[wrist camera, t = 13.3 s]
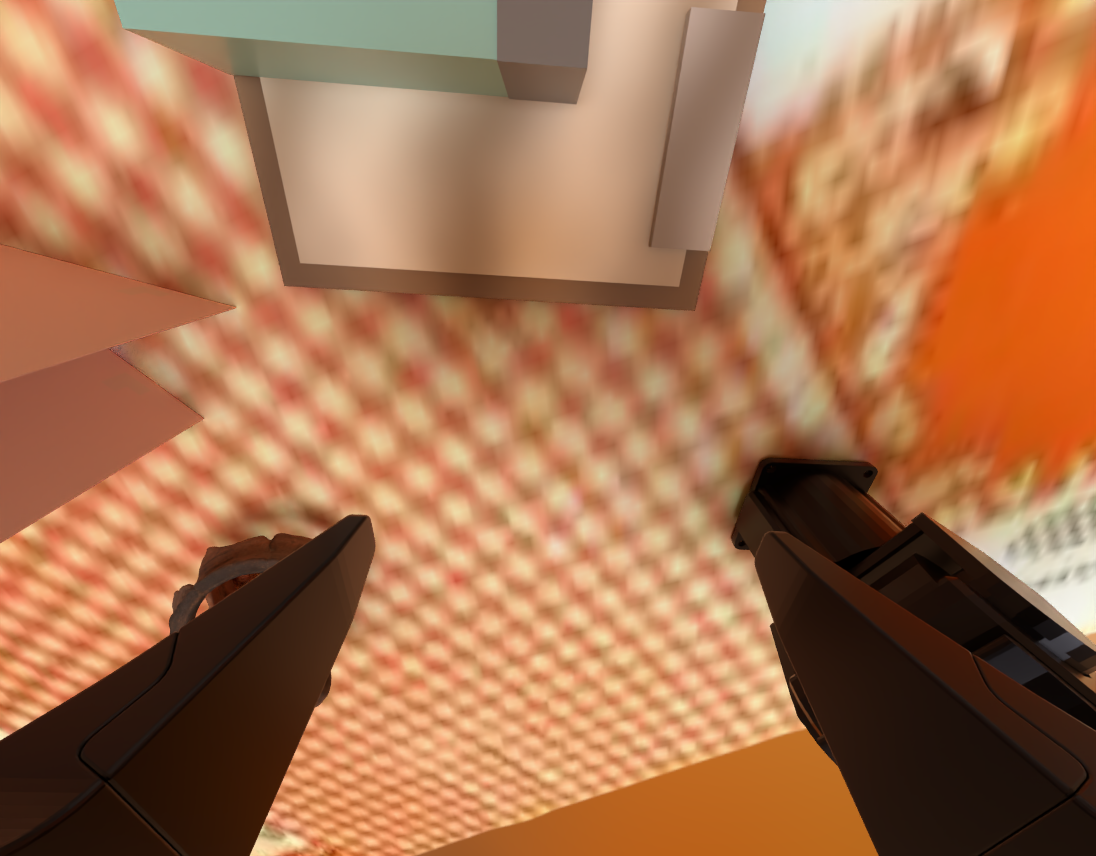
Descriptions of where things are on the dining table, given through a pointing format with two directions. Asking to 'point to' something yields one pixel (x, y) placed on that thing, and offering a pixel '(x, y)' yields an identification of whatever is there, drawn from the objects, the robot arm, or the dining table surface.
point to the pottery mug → (233, 576)
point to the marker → (383, 42)
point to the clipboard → (517, 170)
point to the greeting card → (77, 380)
